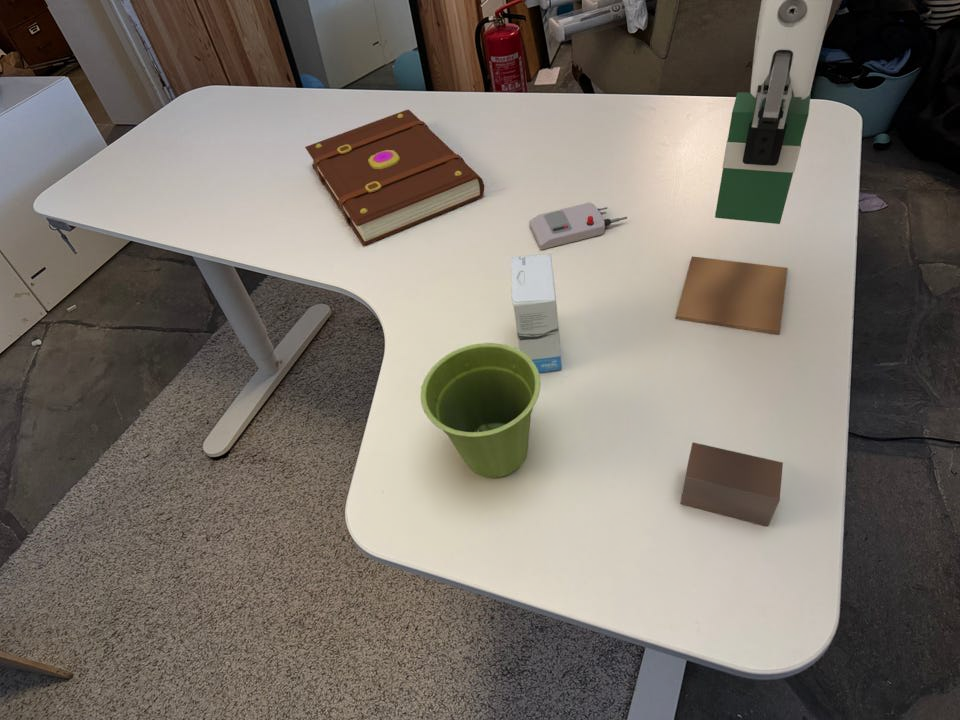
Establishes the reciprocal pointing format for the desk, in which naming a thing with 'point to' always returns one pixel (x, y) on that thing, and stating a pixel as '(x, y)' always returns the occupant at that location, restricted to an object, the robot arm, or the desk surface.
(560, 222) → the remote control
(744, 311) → the coaster
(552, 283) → the ink box
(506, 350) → the plant pot
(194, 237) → the desk surface
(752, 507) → the block
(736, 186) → the block
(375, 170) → the book
